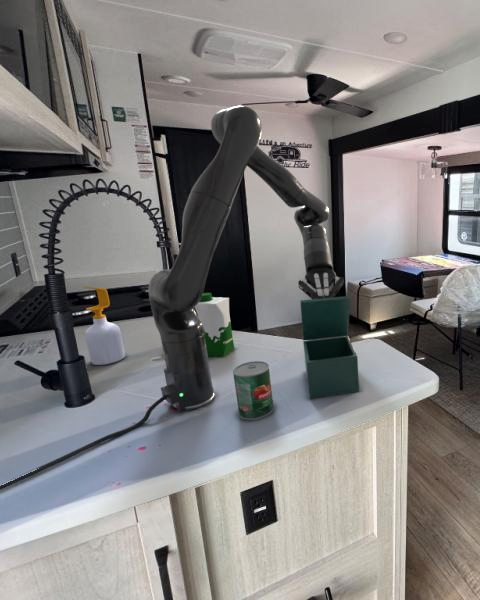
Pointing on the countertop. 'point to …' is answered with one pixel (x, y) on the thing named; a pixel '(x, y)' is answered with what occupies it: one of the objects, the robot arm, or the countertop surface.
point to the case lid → (325, 317)
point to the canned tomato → (253, 390)
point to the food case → (331, 366)
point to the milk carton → (215, 324)
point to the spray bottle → (103, 334)
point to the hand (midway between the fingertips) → (325, 310)
